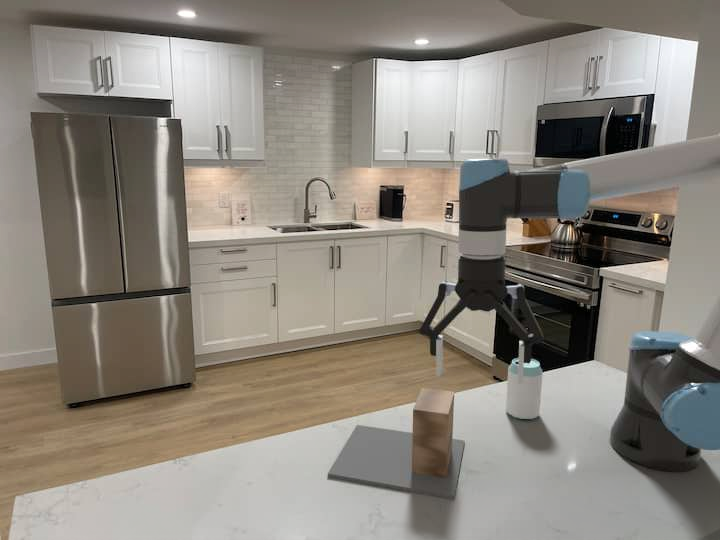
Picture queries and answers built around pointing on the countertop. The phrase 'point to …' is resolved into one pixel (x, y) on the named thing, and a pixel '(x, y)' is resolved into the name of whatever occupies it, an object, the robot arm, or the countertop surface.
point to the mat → (392, 462)
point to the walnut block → (432, 432)
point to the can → (524, 390)
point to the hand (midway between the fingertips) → (478, 376)
